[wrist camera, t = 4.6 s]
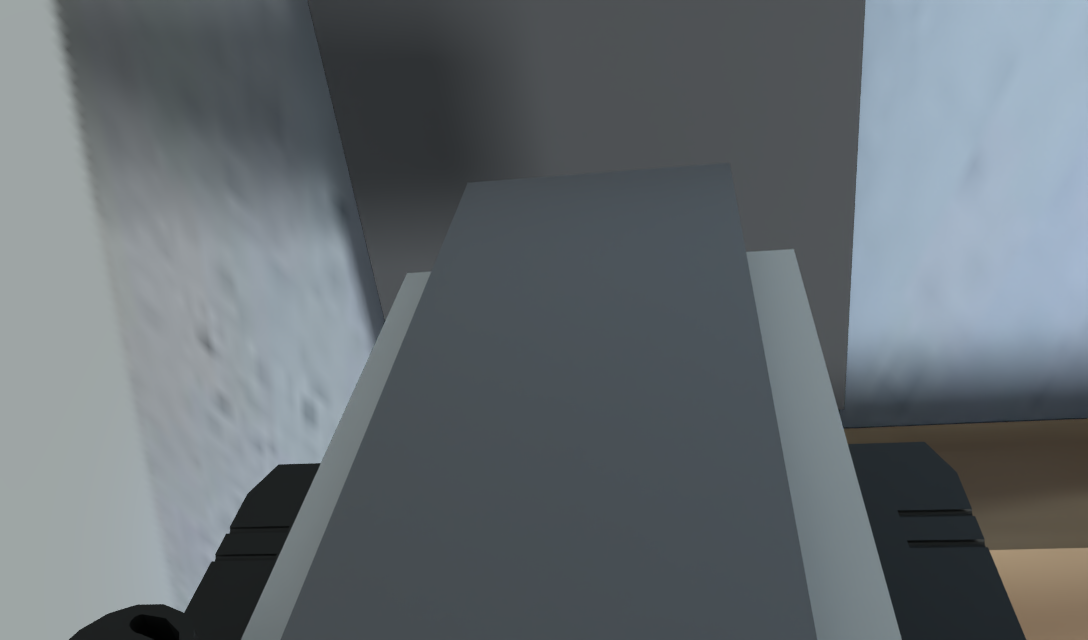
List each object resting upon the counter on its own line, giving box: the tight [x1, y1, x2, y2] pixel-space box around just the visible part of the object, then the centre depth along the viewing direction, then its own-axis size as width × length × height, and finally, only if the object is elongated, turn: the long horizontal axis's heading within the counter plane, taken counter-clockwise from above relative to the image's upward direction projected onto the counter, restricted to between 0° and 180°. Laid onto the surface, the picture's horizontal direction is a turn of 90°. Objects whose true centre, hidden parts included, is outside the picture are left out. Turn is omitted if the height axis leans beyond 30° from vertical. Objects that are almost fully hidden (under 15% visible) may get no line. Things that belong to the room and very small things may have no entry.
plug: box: [281, 163, 817, 640], centre depth 10 cm, size 4×4×12 cm
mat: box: [308, 0, 865, 410], centre depth 19 cm, size 10×10×1 cm
